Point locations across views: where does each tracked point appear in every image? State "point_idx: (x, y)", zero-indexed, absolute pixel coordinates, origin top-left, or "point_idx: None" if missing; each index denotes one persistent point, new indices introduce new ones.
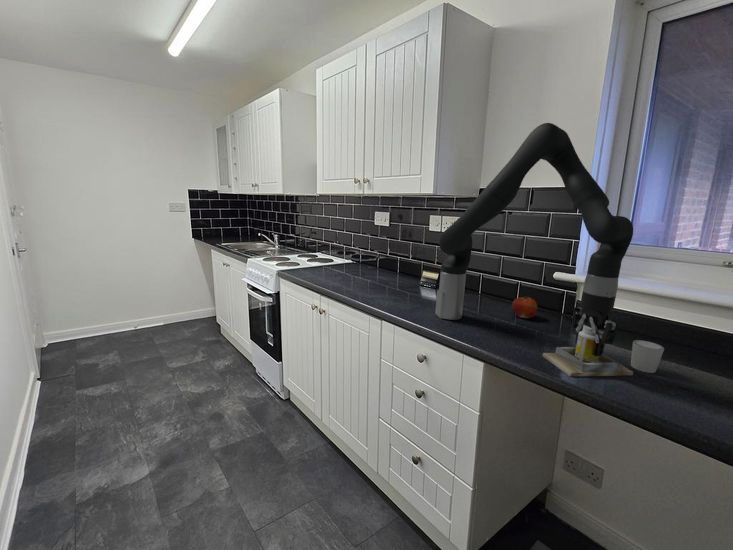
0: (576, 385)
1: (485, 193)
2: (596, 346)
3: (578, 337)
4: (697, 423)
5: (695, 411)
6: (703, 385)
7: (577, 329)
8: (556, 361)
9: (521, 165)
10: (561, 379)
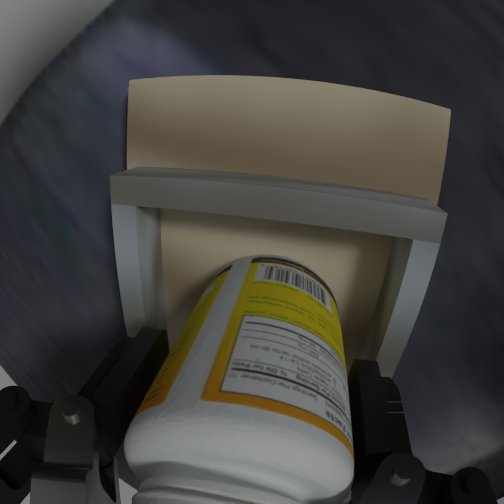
0: (67, 66)
1: None
2: (109, 379)
3: (300, 392)
4: None
5: (2, 341)
6: (130, 471)
7: (399, 480)
8: (302, 94)
9: None
10: (122, 17)
